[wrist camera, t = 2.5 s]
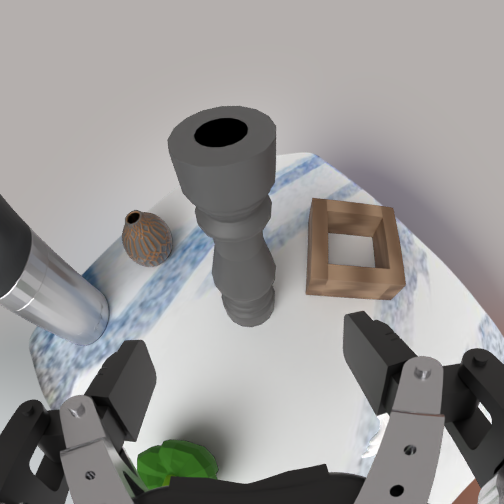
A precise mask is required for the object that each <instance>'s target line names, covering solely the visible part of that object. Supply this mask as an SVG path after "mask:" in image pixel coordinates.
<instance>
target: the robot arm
mask: <svg viewBox="0 0 504 504" xmlns="http://www.w3.org/2000/svg"><path fill="white" fill-rule="evenodd" d="M0 305H1V306H3V307H4V308H6V309H8V310H10V311H11V312H13V313H15V314H17V315H18V316H20V317H22V318H24V319H25V320H27V321H29V322H31V323H33V324H35V325H37V326H39V327H41V328H42V329H44V330H46V331H48V332H51V333H53V334H55V335H57V336H59V337H61V338H63V339H65V340H67V341H70V342H72V343H74V344H77V345H81V346H85V345H89V344H91V343H93V342H95V341H96V340H97V339H98V338H99V337H100V336H101V335H102V333H103V332H104V330H105V328H106V325H107V322H108V317H109V309H108V303H107V301H106V298H105V297H104V295H103V294H102V293H101V292H100V291H99V290H97V289H96V288H95V287H94V286H93V285H91V284H90V283H89V282H88V281H87V280H86V279H84V278H83V277H82V276H81V275H80V274H78V273H77V272H76V271H75V270H74V269H73V268H72V267H71V266H69V265H68V264H67V263H66V262H65V261H64V260H63V259H62V258H61V257H60V256H58V255H57V254H56V253H55V252H54V251H53V250H52V249H51V248H50V247H49V246H48V245H47V244H46V243H45V242H44V241H43V240H42V239H41V238H40V237H39V236H38V235H37V234H36V233H35V232H34V231H33V230H32V229H31V228H30V227H29V226H28V225H27V224H26V223H25V222H24V221H23V220H22V219H21V218H20V217H19V216H18V214H17V213H16V212H15V211H14V210H13V209H12V208H11V207H10V205H9V204H8V203H7V202H6V201H5V199H4V198H3V197H2V196H1V195H0ZM343 353H344V357H345V360H346V362H347V364H348V366H349V368H350V369H351V371H352V373H353V375H354V376H355V378H356V380H357V382H358V384H359V385H360V387H361V389H362V391H363V392H364V394H365V396H366V398H367V400H368V401H369V403H370V405H371V407H372V409H373V411H374V412H375V414H376V416H379V415H382V414H385V413H388V415H389V417H390V418H389V421H388V424H387V427H386V430H385V433H384V436H383V438H382V441H381V444H380V447H379V449H378V452H377V454H376V457H375V459H374V462H373V464H372V466H371V469H370V471H369V473H368V476H367V478H366V477H363V476H359V475H355V474H349V473H339V472H328V469H327V466H326V464H322V465H318V466H313V467H308V468H303V469H298V470H292V471H287V472H284V473H281V474H278V475H275V476H272V477H269V478H266V479H263V480H260V481H256V482H253V483H249V484H242V483H235V482H229V481H223V480H217V479H212V478H207V477H178V476H171V477H170V483H169V485H168V486H162V487H158V488H155V489H152V490H149V489H148V488H147V486H146V485H145V484H144V482H143V480H142V479H141V477H140V475H139V474H138V472H137V470H136V468H135V467H134V465H133V463H132V461H131V459H130V458H129V456H128V454H127V452H126V450H125V448H124V447H123V443H124V441H132V442H136V441H137V437H138V434H139V431H140V428H141V425H142V422H143V419H144V416H145V413H146V411H147V408H148V405H149V402H150V399H151V396H152V393H153V390H154V388H155V385H156V372H155V369H154V366H153V363H152V361H151V358H150V355H149V353H148V350H147V347H146V344H145V342H144V341H143V340H126V341H124V342H123V344H122V345H121V347H120V348H119V350H118V351H117V352H115V353H114V354H112V355H111V356H110V357H109V358H107V359H106V361H105V362H104V364H103V365H102V368H101V369H100V370H99V372H98V375H96V376H95V378H94V379H93V381H92V383H91V384H90V386H89V387H88V389H87V391H86V392H85V394H84V395H78V396H74V397H71V398H69V399H68V400H66V401H65V402H64V403H63V404H62V406H61V408H60V410H50V411H47V410H46V409H45V408H44V406H43V405H42V403H41V402H40V401H38V400H29V401H26V402H24V403H22V404H21V405H20V406H19V407H18V409H17V410H16V412H15V413H14V415H13V416H12V417H11V419H10V420H9V422H8V423H7V425H6V427H5V428H4V430H3V431H2V433H1V435H0V504H65V501H66V497H67V494H68V491H69V490H70V493H71V497H72V499H73V502H74V504H428V503H427V502H428V499H429V495H430V492H431V488H432V485H433V481H434V477H435V473H436V468H437V464H438V459H439V454H440V448H441V442H442V436H443V429H444V426H445V427H446V429H447V431H448V432H449V434H450V435H451V437H452V439H453V440H454V442H455V444H456V445H457V447H458V449H459V450H460V452H461V454H462V455H463V457H464V459H465V461H466V462H467V464H468V466H469V467H470V469H471V471H472V473H473V475H474V476H475V478H476V480H477V482H478V484H479V486H480V487H481V491H480V493H479V497H478V504H504V364H503V363H502V362H501V361H500V360H498V359H497V358H496V357H495V356H494V355H493V354H492V353H491V352H489V351H487V350H484V349H479V348H476V349H471V350H468V351H467V352H465V354H464V355H463V358H462V361H461V363H460V364H455V365H448V366H442V365H441V364H440V363H439V362H438V361H437V360H435V359H433V358H431V357H426V356H419V357H418V356H417V355H416V354H415V353H414V352H413V351H412V350H411V349H410V348H409V347H408V346H407V345H406V344H405V342H404V341H403V340H402V339H400V338H399V336H398V335H397V334H396V333H394V331H393V330H392V329H391V328H390V327H389V326H388V325H387V324H385V323H383V322H381V321H379V320H374V321H373V320H372V319H371V318H370V317H369V316H368V315H367V314H366V312H364V311H360V312H355V313H351V314H346V315H345V317H344V335H343ZM480 402H481V403H482V405H483V406H484V407H485V408H486V410H487V411H488V412H489V413H490V415H491V418H492V425H491V423H490V422H489V421H488V419H487V418H486V417H485V415H484V414H483V413H482V411H481V410H480V409H479V408H478V405H479V403H480ZM37 446H38V447H39V448H40V449H41V450H42V451H43V452H44V453H45V455H44V457H43V459H42V461H41V464H40V466H39V468H38V471H37V473H36V475H34V474H33V473H32V472H31V470H30V467H29V462H30V459H31V457H32V455H33V453H34V451H35V449H36V447H37Z"/></svg>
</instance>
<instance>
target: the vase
mask: <svg viewBox="0 0 504 504" xmlns="http://www.w3.org/2000/svg"><path fill="white" fill-rule="evenodd" d="M122 241H123V245H124V248H125V250H126V252H127V254H128V255H129V256H130V258H131V259H132V260H133V261H135V262H136V263H138V264H140V265H142V266H147V267H152V266H156V265H159V264H161V263H162V262H164V261H165V260H166V259H167V257H168V256H169V254H170V252H171V249H172V235H171V232H170V230H169V228H168V226H167V224H166V223H165V222H164V221H163V220H162V219H161V218H160V217H158V216H157V215H155V214H152V213H146V212H141V211H138V210H134V211H132V212H130V213H129V214H128V215H127V216H126V218H125V226H124V229H123V233H122Z"/></svg>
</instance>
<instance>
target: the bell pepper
mask: <svg viewBox="0 0 504 504" xmlns="http://www.w3.org/2000/svg"><path fill="white" fill-rule="evenodd" d="M137 472H138V474H139V475H140V477H141V479H142V480H143V482H144V484H145V485H146V486H147V488H148V489H149V490H152V489H155V488H158V487H162V486H168V485H169V483H170V477H171V476H178V477H207V478H212V479H217V476H216V473H217V472H218V467H217V464H216V461H215V458H214V456H213V455H212V454H211V453H210V452H209V451H208V450H207V449H206V448H205V447H203V446H200V445H197V444H194V443H191V442H188V441H183V440H167V441H164V442H163V444H162V446H160V445H157V446H154V447H151V448H149V449H147V450H145V451H144V452H142V453H140V454H138V458H137Z"/></svg>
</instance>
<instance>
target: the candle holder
mask: <svg viewBox="0 0 504 504" xmlns="http://www.w3.org/2000/svg"><path fill="white" fill-rule="evenodd" d="M168 149H169V154H170V156H171V160H172V163H173V166H174V168H175V171H176V174H177V177H178V180H179V183H180V186H181V189H182V192H183V194H184V195H185V196H186V197H187V198H188V199H189V200H190V201H191V202H192V204H194V205H195V206H196V209H195V214H196V218H197V223H198V225H199V226H200V228H201V229H202V230H203V231H204V232H205V233H206V234H207V235H208V236H209V237H212V238H213V240H214V243H215V246H214V257H213V267H212V275H213V279H214V283H215V285H216V287H217V288H218V289H219V291H220V292H221V293H222V300H223V304H224V307H225V309H226V312H227V314H228V316H229V317H230V318H231V319H232V320H233V322H235V323H237V324H239V325H241V326H245V327H254V326H257V325H261V324H262V323H264V322H265V321H266V320H267V319H269V317H270V315H271V313H272V311H273V307H274V289H273V286H272V284H273V282H274V280H275V268H276V266H275V263H274V260H273V258H272V255H271V253H270V251H269V249H268V247H267V245H266V243H265V241H264V238H263V229H264V227H265V226H266V224H267V223H268V221H269V219H270V218H271V207H272V202H271V200H270V198H269V195H268V193H269V192H270V189H271V187H272V186H273V185H274V183H275V172H276V125H275V124H274V123H273V121H272V120H271V119H270V117H269V116H267V115H266V114H264V113H262V112H260V111H258V110H256V109H251V108H247V107H242V106H222V107H216V108H212V109H207V110H203V111H201V112H198V113H196V114H194V115H192V116H190V117H188V118H186V119H185V120H183V121H182V122H181V123H180V124H179V125H177V126H176V127H175V128H174V129H173V131H172V133H171V135H170V136H169V138H168Z"/></svg>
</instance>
